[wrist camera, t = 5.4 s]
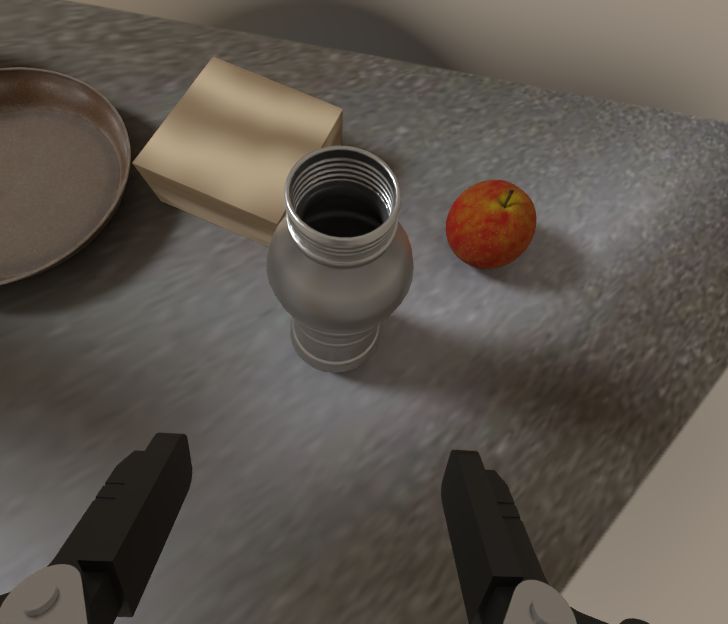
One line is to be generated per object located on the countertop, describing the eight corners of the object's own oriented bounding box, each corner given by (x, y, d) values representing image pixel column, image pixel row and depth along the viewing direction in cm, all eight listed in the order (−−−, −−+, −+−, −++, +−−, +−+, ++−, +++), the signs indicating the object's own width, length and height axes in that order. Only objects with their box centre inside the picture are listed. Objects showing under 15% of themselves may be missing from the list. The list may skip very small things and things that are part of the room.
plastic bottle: (297, 297, 32) (246, 99, 13) (377, 302, 32) (445, 119, 13) (289, 375, 30) (216, 279, 11) (375, 379, 30) (451, 294, 11)
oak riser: (285, 254, 33) (277, 224, 28) (160, 201, 33) (132, 162, 28) (341, 151, 36) (342, 109, 32) (228, 104, 37) (213, 56, 32)
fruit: (513, 284, 34) (566, 241, 26) (436, 277, 33) (467, 232, 26) (508, 215, 36) (556, 157, 28) (436, 208, 35) (464, 148, 28)
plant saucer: (-177, 253, 30) (-237, 232, 27) (-14, 69, 36) (-47, 35, 33) (67, 339, 29) (35, 329, 26) (189, 138, 36) (175, 110, 33)
